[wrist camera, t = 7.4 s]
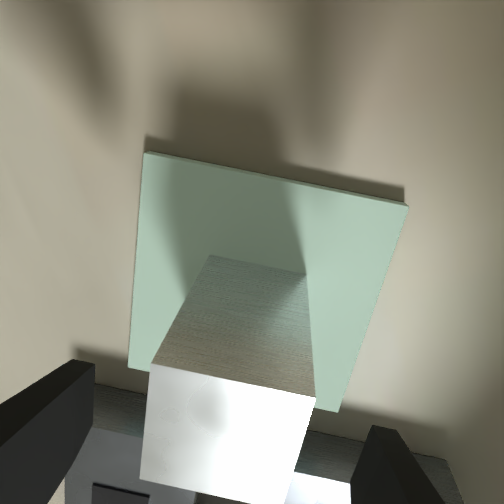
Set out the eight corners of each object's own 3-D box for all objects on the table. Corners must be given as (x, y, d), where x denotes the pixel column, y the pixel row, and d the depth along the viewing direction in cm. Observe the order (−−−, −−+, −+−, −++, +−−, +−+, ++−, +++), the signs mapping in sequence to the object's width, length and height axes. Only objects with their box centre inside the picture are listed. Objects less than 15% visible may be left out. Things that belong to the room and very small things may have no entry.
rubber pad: (405, 202, 15) (409, 206, 14) (336, 403, 19) (337, 412, 18) (149, 151, 15) (143, 153, 15) (132, 359, 19) (127, 367, 18)
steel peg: (306, 274, 16) (315, 398, 9) (286, 354, 17) (281, 510, 11) (209, 254, 16) (150, 363, 9) (197, 336, 17) (139, 479, 11)
